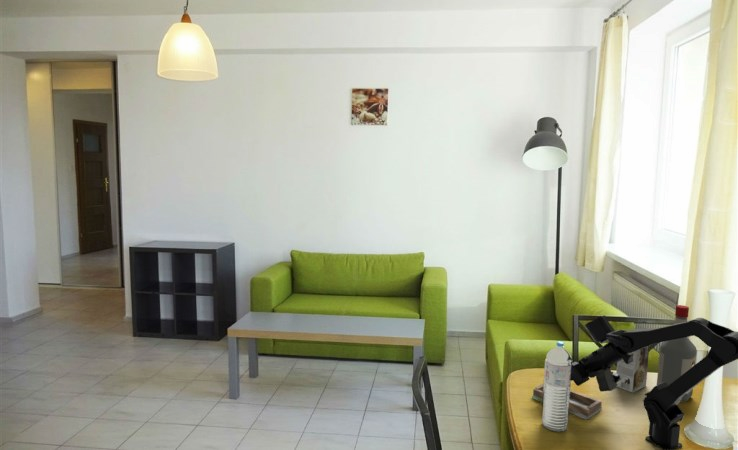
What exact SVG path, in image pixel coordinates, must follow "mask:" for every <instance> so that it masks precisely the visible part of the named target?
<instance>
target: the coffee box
mask: <svg viewBox="0 0 738 450" xmlns="http://www.w3.org/2000/svg"><path fill="white" fill-rule="evenodd" d="M632 354H634V355H633V362H632V363H629V364H626V363H625V362H624V360H623V359H622V360H620V361H619V362H617V363H616V371H615V373H616V374H619V375H620V378H621V380H619V381H618V382H617V383H616V384H618V385H617V387H616V388H619V389H622V390H625V391H628V392H629V393H635V392H637V391H638V390H641V389H642V388H645V387H647V379H648V377H647V376H648V366H649V354H650V345H649V346H647V347H645V348H642V349H640V350H637V351H634V352H632Z"/></svg>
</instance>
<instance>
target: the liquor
mask: <svg viewBox="0 0 738 450" xmlns="http://www.w3.org/2000/svg"><path fill="white" fill-rule="evenodd" d="M689 312H690V307H689V306H687V305H683V304H682V305H681V304H676V306H675V314H674V316H675V318H674V319H675V320H674V324H678V323H682V322H687V321H688V318H689ZM697 352H698V350H697V347H696V346H695V344H694V343H693V342H692V341H691V339H690V338H689V337H684V338H679V339H674V340H669V341H664V342H661V344H660V346H659V357H658V366H657V367H658V369H657V378H656V379H657V380H656V386H657V385H659V384H661V383H663V382H666V383H667V385H668V386H669V385H670V384H671V383H673V382H674V381H675V380H676V379H678V378H679V377H680V376H682V375H683V374H684V373H685V372H687V371H688V370H689V369H690V368H692V367H693V366H694V365H696V364H697V362H696V361H697ZM693 391H694V388H692V389H691V390H690V391H688V392H687V393H686V394H685V395H684V396H683V397H682V399H681V401H682V402H681V401H680V402H681V403H683V402H684V403H686V402H688V400H689V399H691V398H692V396H693V394H694V393H693ZM680 402H679V403H680Z"/></svg>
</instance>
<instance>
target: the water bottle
mask: <svg viewBox="0 0 738 450" xmlns="http://www.w3.org/2000/svg"><path fill="white" fill-rule="evenodd" d="M564 344H565V343H564V342H563V341H560V340H559V341H556V346H554V347H553V348H552V349H551V350H549V351H548V352H547V353H546V358H545V359H546V360H547V363H546V378H545V386H544V402H542V405H543V407H542V420H541V421H542V426H543V427H544V428H545V429H546V430H548V431H552V432H557V433H558V432H559V433H562V432H565V431H566V430H567V428H568V421H569V412H568V411H569V397H570V390H571V387H570V377H571V364H572V363H573V358H572V355H571V354H570V352H569V351H568V350H567V349H565V348H564Z"/></svg>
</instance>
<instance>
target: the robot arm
mask: <svg viewBox="0 0 738 450" xmlns="http://www.w3.org/2000/svg"><path fill="white" fill-rule="evenodd" d="M584 328H585V329H586V330H587V332H588V334H589V335H590V336H591V338H592V339H593V341H594V342H595V343H596V344H598V343H600V344H601V345H603V344H604V345H603V346H601V347H599V348H597V349H595V350H594V351H591V353H590V354H588V355H586V356H584V357H582V358H581V359H579V360H578V361H574V362H573V361H572V364H571V377H570V381H571V382H572V381H573V382H574V384H575V385H576V386H578V387H579V386H582V385H583V384H584V383H587V382H588V381H589V380H590V379H593V378H595V379H596V381H597V382H596V383H597V384H598V389H599V391H600V392H601V393H602V392H610V391H611V392H612V391H613V390H615V389H616V388H618V387H617V385H618V384H616V383H617V382H618V381H619V380H621V378H620V375H619V374H616V372H614V371H612V370H611V368H613V367H614V365H615V364H617V362H619V361H620V360H622V359H623V360H624V362H625V363H626V364H629V363H632V362H633V355H634V354H632V352H634V351H637V350H640V349H642V348H645V347H647V346H649V347H650V346H652V345H654V344H659V343H663V342H664V341H669V340H674V339H679V338H684V337H688V338H689V337H693V336H694V337H695V338H698V339H699V340H701V342H702V343H704V344H705V345H706V346H707V347H709V348H710V349H709V351H708V352H707V354H706V355H705V357H703V358H702V359H700V361H698V362H696V364H695V365H694V366H693V367H692V368H690V369H689V370H688V371H687V372H685V373H684V374H683V375H682V376H680V377H679V378H678V379H676V380H675V381H674V382H673V383H671V384H670V385H669V386H668V385H667V383H666V382H663V383H661V384H659V385H657V384H656V385H654V386H653V387H652V389H651V390H650V391H647V392H646V393H645V394H644V396H645V397H644V398H643V400H642V403H643V407H644V409H645V411H646V413H647V417H648V418H647V419H648V423H649V426H648V436H645V440H647V442H650V443H652V444H653V445H655V446H656V447H658V448H660V449H662V450H674V449H678V448H682V447H683V444H682V443H681V442H679V441H680V432H681V431H680V430H681V425H680V424H679V422H681V421H682V420H683V419H684V418H685V416H686V415H685V413H684V411H683V410H682V409H681V407H680V406H679V404H680V401H681V399H682V397H683V396H684V395H685V394H686V393H687V392H688V391H690V390H691V389H692V388H693V389H694V388H695V387H696V386H698V385H699V384H700V383H702V382H703V381H704V380H706V379H707V378H708V377H710V376H711V375H712V374H713V373H715V372H716V371H718V370H719V369H721V368H722V367H724V366H726V365H727V364H730V363H732V362H734V361H737V360H738V331H734V330H733V329H731V328H729V327H726V326H723V325H720V324H717V323H714V322H712V321H710V320H708V319H706V318H704V317H697V318H694V319H692V320H687V322H682V323H678V324H675V323H674V324H670V325H665V326H660V327H657V328H656V327H655V328H633V329H629V330H625V329H617V330H615V329H614V327H613V326H612V325H611V323H610V321H609V319H608V318H607V317H606V315H605V314H604V315H600V316H599V317H598V318H595V319H593V320H591V321H588V322H587V323H586V324H585V325H584ZM605 343H606V344H605Z"/></svg>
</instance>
